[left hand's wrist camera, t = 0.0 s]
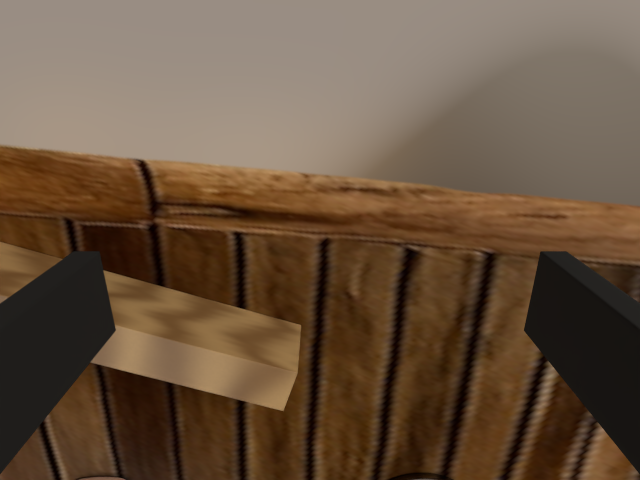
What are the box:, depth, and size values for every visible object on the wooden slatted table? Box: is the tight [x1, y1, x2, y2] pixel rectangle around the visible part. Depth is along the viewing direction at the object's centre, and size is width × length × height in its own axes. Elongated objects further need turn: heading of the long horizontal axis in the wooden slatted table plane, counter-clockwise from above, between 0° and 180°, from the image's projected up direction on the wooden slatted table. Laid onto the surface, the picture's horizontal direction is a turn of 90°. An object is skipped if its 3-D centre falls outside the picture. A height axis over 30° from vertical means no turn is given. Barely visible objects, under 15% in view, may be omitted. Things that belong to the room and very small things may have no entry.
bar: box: [0, 242, 301, 411], centre depth 40 cm, size 54×5×8 cm, turn 72°
